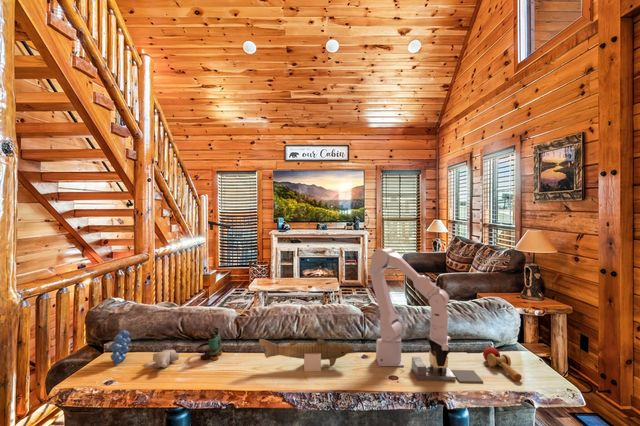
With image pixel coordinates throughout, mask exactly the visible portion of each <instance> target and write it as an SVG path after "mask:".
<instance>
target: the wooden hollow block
mask: <svg viewBox="0 0 640 426" xmlns="http://www.w3.org/2000/svg"><path fill="white" fill-rule="evenodd" d="M428 354H429V355H428V356H429V357H428V358H429V359H428V361H429V364H430V363H431V365H432V366H433V367H437V368H448V367H449V365H448V363H449V356H447V358H446V361H445V365H444V366H438V365H437V359H436V353H435V350H431V349H429V353H428Z"/></svg>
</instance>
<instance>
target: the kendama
mask: <svg viewBox="0 0 640 426" xmlns="http://www.w3.org/2000/svg"><path fill="white" fill-rule="evenodd" d="M482 356H483V360H485V362H487V364H488V365H489V366H490V367H496V365H497V366H498V365H500V366H501V368H502V369H503V371H505V372H506V374H508V375H509V376H510V377H511V379H512V380H513V381H514V382H520V381H521V380H522V378H523V377H522V375H521V374H520V373H519V372H518V371H517V370H515V369H514V368H512V367H511V365H512V361H511V357H510V356H509V355H508V354H502V355H501V353H500V351H499V350H498V349H497V348H495V347H491V346H489V347H486V348H484V349H483V352H482Z"/></svg>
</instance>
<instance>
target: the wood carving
mask: <svg viewBox="0 0 640 426" xmlns="http://www.w3.org/2000/svg"><path fill="white" fill-rule="evenodd" d="M316 339H317V341H316V342H312V343H307V342H306V343H297V342H296V341H294V340H291V341H290V343H288V344H280V343H278V344H275V343H273V342H271V341H269V340H268V339H267V340H266V339H262V338H259V340H258V341H259V344H260V347H261V349H262V351H263V354H264V357H265V358H266V359H269V358H270V357H276V356H282V357H288V358H292V359H293V358H295V359H299V360H300V359H302V360H303V368H304V370H303V371H304V372H321V371H322V361H324V360H325V361H326V360H328V361H329V367H333V366H334V365H335V364H336V362H337V359H340V358H343V357H345V356H346V355H348V354H349V353H351V352H352V351H354V346H353V344H350V343H344V342H326V341H325V339H324V338H322V337H317V338H316ZM263 346H264V347H265V350H264V348H263Z"/></svg>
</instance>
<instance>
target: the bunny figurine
mask: <svg viewBox="0 0 640 426" xmlns="http://www.w3.org/2000/svg"><path fill="white" fill-rule="evenodd" d="M178 360H180V354H179V353H178V352H177V351H176V350H175V349H162V351H157V352H156V353H153V354H152V361H147V362H145V364H144V366H143V367H144V368H149V367H151V366H153V367H154V368H155V369H160V368H163V369H166V368H167V367H169V366H170V363H173V362H177V361H178Z"/></svg>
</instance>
